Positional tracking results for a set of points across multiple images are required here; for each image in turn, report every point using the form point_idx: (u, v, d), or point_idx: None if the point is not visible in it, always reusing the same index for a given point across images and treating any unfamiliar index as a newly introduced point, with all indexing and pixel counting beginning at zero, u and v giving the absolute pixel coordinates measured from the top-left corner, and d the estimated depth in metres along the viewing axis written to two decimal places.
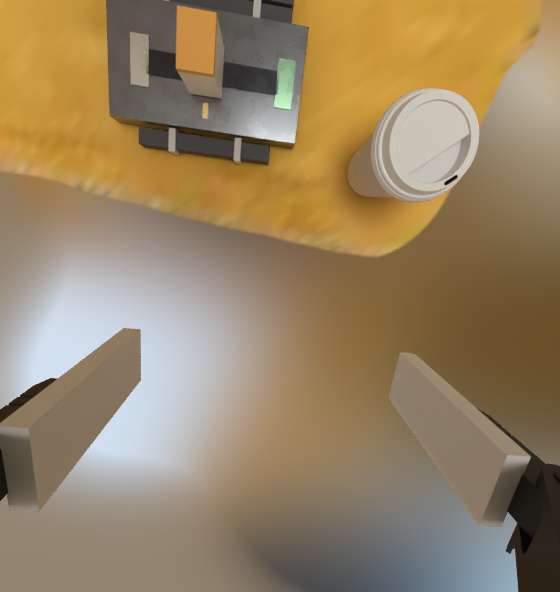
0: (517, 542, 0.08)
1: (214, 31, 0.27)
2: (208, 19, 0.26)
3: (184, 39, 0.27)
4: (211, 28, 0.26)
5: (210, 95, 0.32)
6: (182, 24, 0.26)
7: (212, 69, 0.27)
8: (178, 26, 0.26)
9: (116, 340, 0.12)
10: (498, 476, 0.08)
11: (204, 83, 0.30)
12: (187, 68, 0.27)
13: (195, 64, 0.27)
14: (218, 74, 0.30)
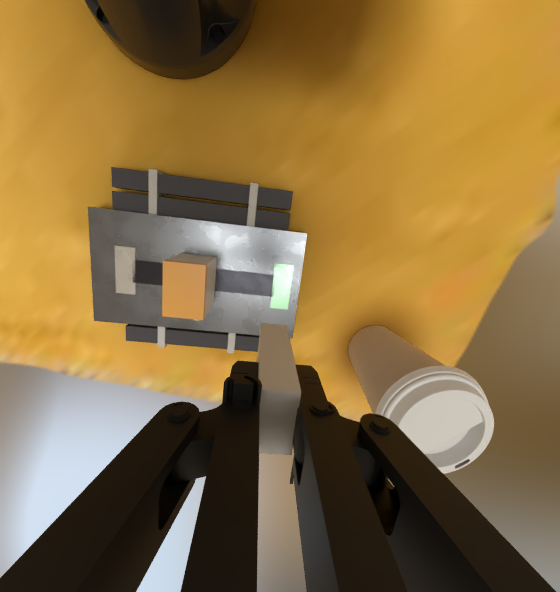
0: (295, 475, 0.09)
1: (204, 282, 0.24)
2: (197, 272, 0.24)
3: (171, 290, 0.24)
4: (200, 280, 0.24)
5: None
6: (168, 277, 0.24)
7: (202, 315, 0.25)
8: (164, 279, 0.24)
9: (267, 332, 0.15)
10: (279, 409, 0.10)
11: None
12: (175, 315, 0.25)
13: (183, 312, 0.25)
14: (209, 298, 0.28)
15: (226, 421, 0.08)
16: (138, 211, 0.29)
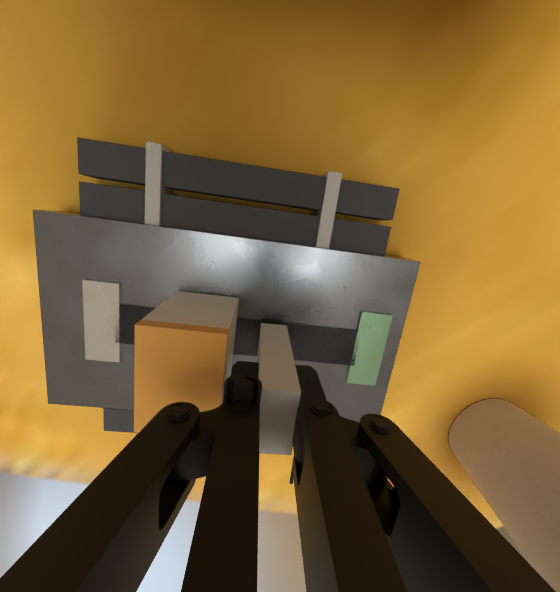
0: (294, 475, 0.09)
1: (222, 366, 0.12)
2: (208, 347, 0.11)
3: (153, 383, 0.12)
4: (214, 363, 0.12)
5: None
6: (147, 359, 0.11)
7: None
8: (138, 362, 0.11)
9: (267, 332, 0.15)
10: (279, 409, 0.10)
11: None
12: None
13: None
14: None
15: (226, 421, 0.08)
16: (126, 219, 0.16)
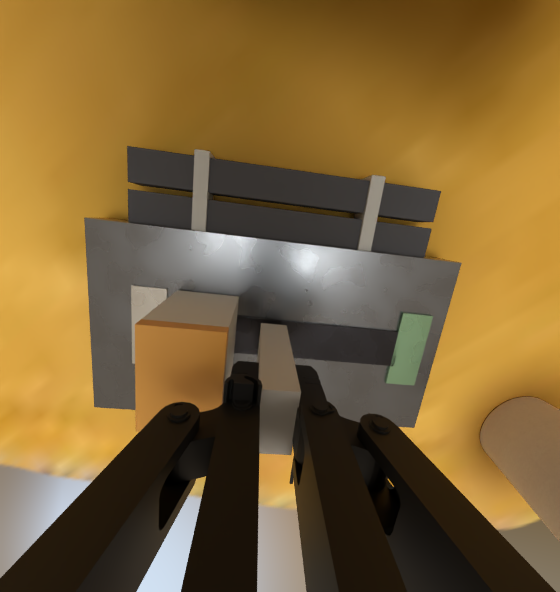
0: (294, 475, 0.09)
1: (222, 364, 0.12)
2: (208, 345, 0.11)
3: (154, 382, 0.12)
4: (214, 361, 0.12)
5: None
6: (148, 358, 0.11)
7: None
8: (139, 362, 0.11)
9: (267, 332, 0.15)
10: (278, 409, 0.10)
11: None
12: None
13: None
14: None
15: (226, 421, 0.08)
16: (173, 225, 0.16)
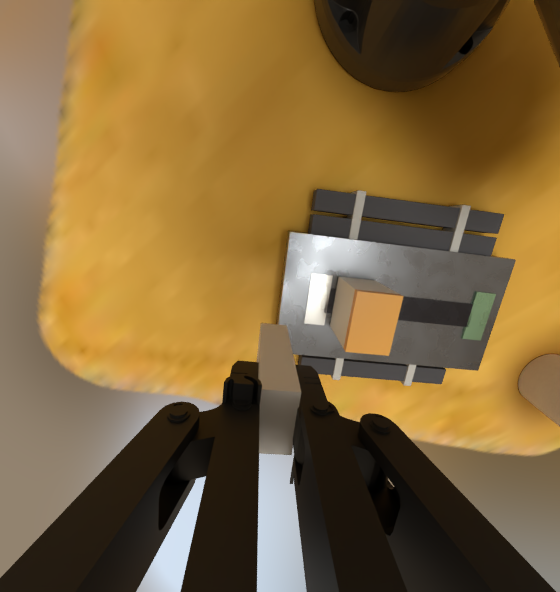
0: (294, 475, 0.09)
1: (397, 314, 0.22)
2: (392, 303, 0.21)
3: (360, 323, 0.22)
4: (394, 312, 0.21)
5: None
6: (360, 310, 0.21)
7: (388, 351, 0.22)
8: (355, 312, 0.21)
9: (266, 332, 0.15)
10: (279, 409, 0.10)
11: None
12: (359, 351, 0.22)
13: (369, 347, 0.22)
14: None
15: (226, 421, 0.08)
16: (337, 236, 0.26)
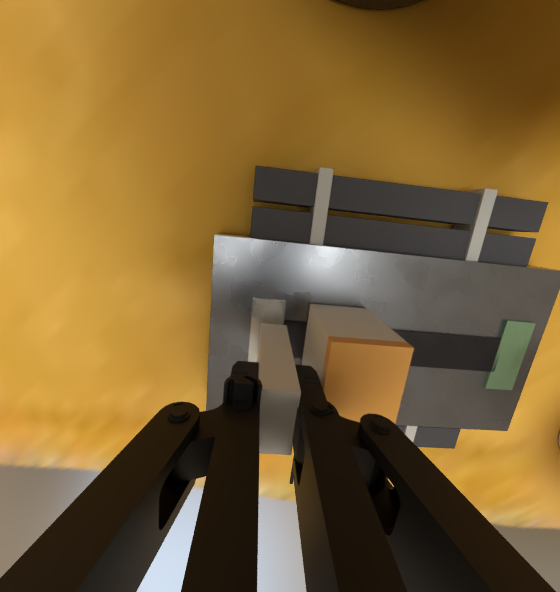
0: (294, 475, 0.09)
1: (404, 378, 0.12)
2: (395, 360, 0.12)
3: (339, 395, 0.12)
4: (398, 375, 0.12)
5: None
6: (338, 373, 0.12)
7: None
8: (330, 376, 0.12)
9: (267, 332, 0.15)
10: (278, 409, 0.10)
11: None
12: None
13: None
14: None
15: (226, 421, 0.08)
16: (292, 240, 0.17)
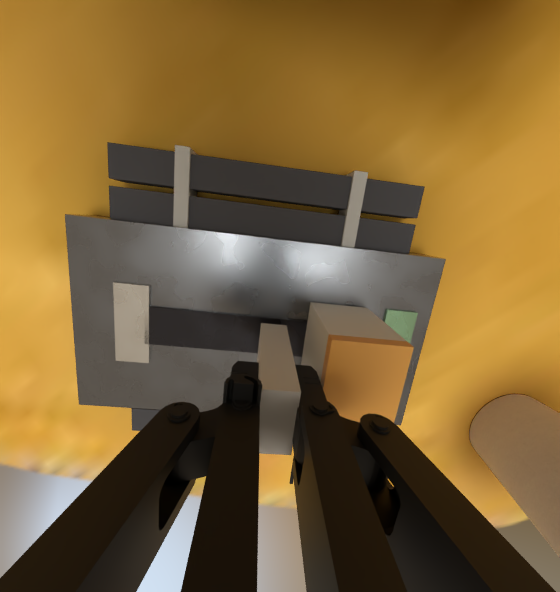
0: (294, 475, 0.09)
1: (403, 377, 0.12)
2: (395, 359, 0.12)
3: (339, 393, 0.12)
4: (397, 374, 0.12)
5: None
6: (338, 371, 0.12)
7: None
8: (329, 374, 0.12)
9: (267, 332, 0.15)
10: (278, 409, 0.10)
11: None
12: None
13: None
14: None
15: (226, 421, 0.08)
16: (155, 222, 0.16)
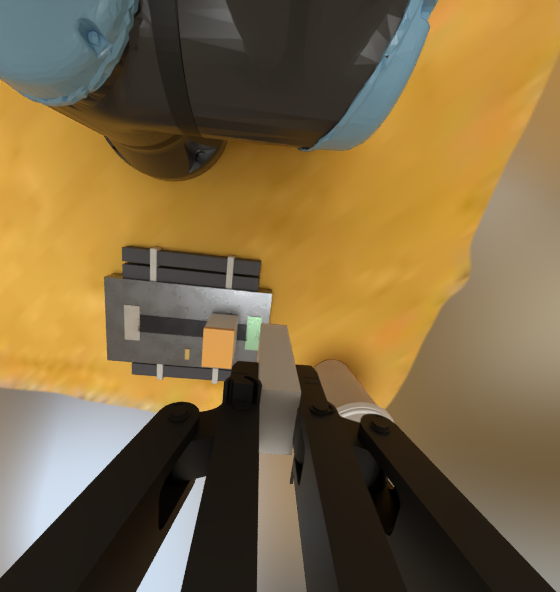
0: (294, 475, 0.09)
1: (232, 342, 0.33)
2: (228, 335, 0.33)
3: (208, 348, 0.33)
4: (230, 341, 0.33)
5: None
6: (207, 339, 0.33)
7: (230, 365, 0.34)
8: (204, 341, 0.33)
9: (266, 332, 0.15)
10: (279, 409, 0.10)
11: None
12: (210, 366, 0.34)
13: (217, 363, 0.34)
14: (234, 349, 0.37)
15: (226, 421, 0.08)
16: (142, 278, 0.37)
